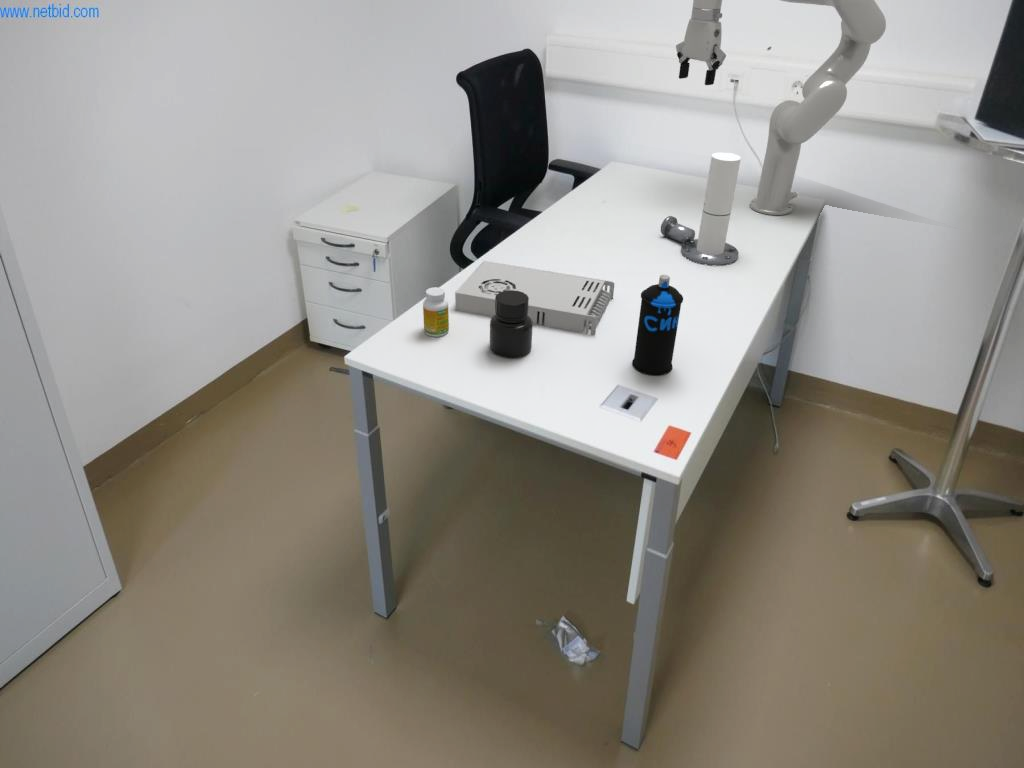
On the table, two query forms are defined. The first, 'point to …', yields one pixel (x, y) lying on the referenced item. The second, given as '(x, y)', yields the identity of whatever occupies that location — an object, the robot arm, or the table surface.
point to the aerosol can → (657, 328)
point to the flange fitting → (695, 244)
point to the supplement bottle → (435, 312)
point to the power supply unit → (538, 295)
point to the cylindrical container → (718, 202)
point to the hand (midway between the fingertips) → (695, 81)
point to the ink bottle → (511, 325)
